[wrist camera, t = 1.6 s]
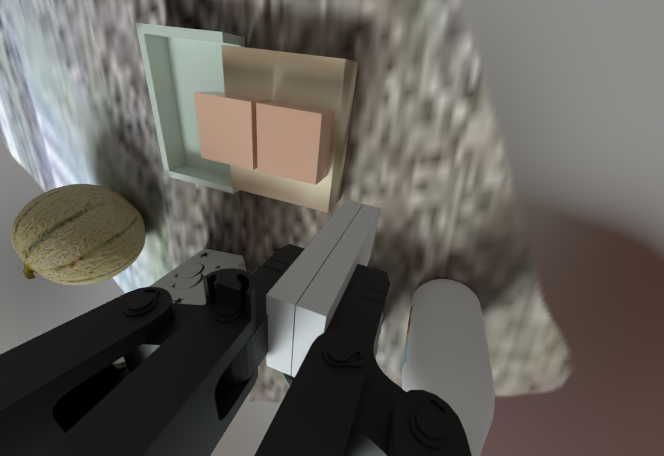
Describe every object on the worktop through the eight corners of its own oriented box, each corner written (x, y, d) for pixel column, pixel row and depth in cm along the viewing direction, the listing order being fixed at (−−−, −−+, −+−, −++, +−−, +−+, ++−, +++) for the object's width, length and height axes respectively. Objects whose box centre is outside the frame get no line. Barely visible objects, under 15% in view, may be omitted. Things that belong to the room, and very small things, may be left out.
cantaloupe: (156, 183, 42) (34, 225, 29) (174, 261, 49) (81, 322, 37) (86, 164, 46) (-50, 195, 33) (112, 240, 53) (8, 288, 40)
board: (247, 49, 29) (221, 44, 25) (358, 62, 26) (345, 58, 22) (251, 178, 36) (231, 187, 32) (339, 199, 33) (327, 212, 29)
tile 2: (216, 91, 28) (193, 92, 25) (269, 100, 26) (251, 101, 24) (221, 151, 31) (201, 157, 28) (269, 162, 29) (253, 170, 27)
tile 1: (274, 101, 26) (256, 102, 23) (334, 110, 25) (321, 114, 22) (273, 163, 29) (257, 171, 26) (327, 175, 27) (315, 185, 25)
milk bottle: (418, 269, 33) (393, 457, 17) (488, 285, 31) (542, 520, 14) (407, 316, 37) (378, 509, 20) (470, 333, 35) (495, 565, 18)
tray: (165, 28, 31) (135, 23, 28) (245, 37, 28) (222, 31, 25) (186, 168, 39) (165, 175, 36) (250, 184, 36) (233, 193, 33)
